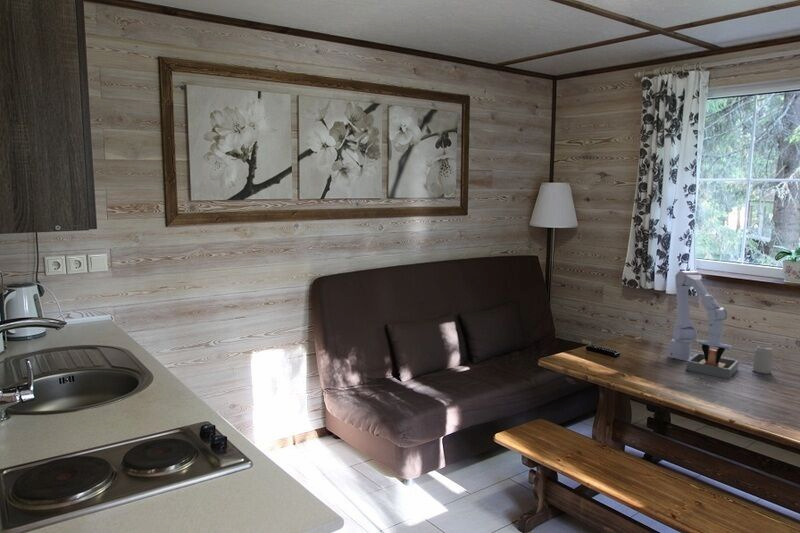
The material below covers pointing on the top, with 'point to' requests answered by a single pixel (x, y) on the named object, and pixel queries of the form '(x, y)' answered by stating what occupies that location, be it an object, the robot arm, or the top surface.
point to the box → (722, 369)
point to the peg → (712, 357)
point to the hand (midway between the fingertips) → (711, 361)
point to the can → (763, 359)
